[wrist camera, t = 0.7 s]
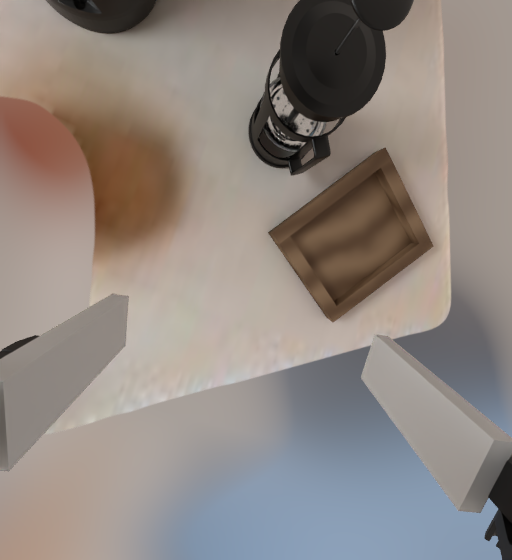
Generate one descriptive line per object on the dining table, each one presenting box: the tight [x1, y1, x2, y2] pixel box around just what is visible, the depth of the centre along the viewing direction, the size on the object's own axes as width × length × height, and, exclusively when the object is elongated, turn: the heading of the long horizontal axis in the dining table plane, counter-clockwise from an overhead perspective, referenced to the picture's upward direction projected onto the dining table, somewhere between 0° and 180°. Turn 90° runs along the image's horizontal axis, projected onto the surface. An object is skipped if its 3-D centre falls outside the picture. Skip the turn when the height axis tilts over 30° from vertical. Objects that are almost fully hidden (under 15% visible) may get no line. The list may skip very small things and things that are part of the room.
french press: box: [249, 0, 413, 175], centre depth 25 cm, size 12×9×23 cm
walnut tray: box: [268, 148, 433, 322], centre depth 40 cm, size 18×21×2 cm
